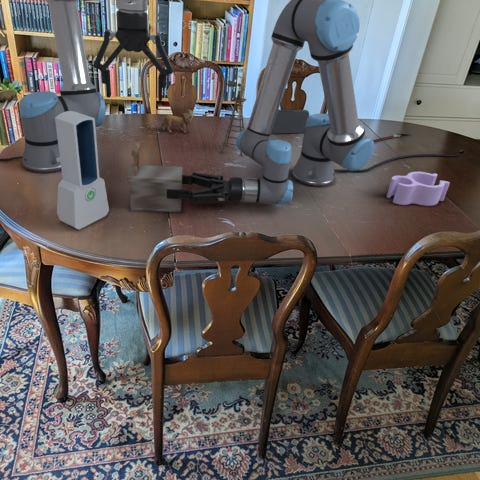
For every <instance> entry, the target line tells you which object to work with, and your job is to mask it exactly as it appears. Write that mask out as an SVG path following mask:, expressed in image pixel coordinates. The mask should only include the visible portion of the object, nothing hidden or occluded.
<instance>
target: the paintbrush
mask: <svg viewBox="0 0 480 480" xmlns="http://www.w3.org/2000/svg"><path fill="white" fill-rule="evenodd" d="M401 134H402V133H396V134H392V135H389V136H383V137H379V138H376V139H372V140H373V142H374V143H377V142H381V141H384V140H389V139H393V138H400V137H402V136H406V135H409V134H404V135H401Z"/></svg>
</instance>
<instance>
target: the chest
mask: <svg viewBox="0 0 480 480" xmlns="http://www.w3.org/2000/svg"><path fill="white" fill-rule="evenodd" d="M183 172H184V171H183ZM183 172H182V177H183ZM128 182H129V203H130V206H129V207H130V211H140V212H141V211H142V212H144V211H145V212H163V213H164V212H165V213H166V212H167V213H182V203H183V202H182V201H183V199H169V198H167V189H176V190H183V184H182V183H163V182H142V181H128Z"/></svg>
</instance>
